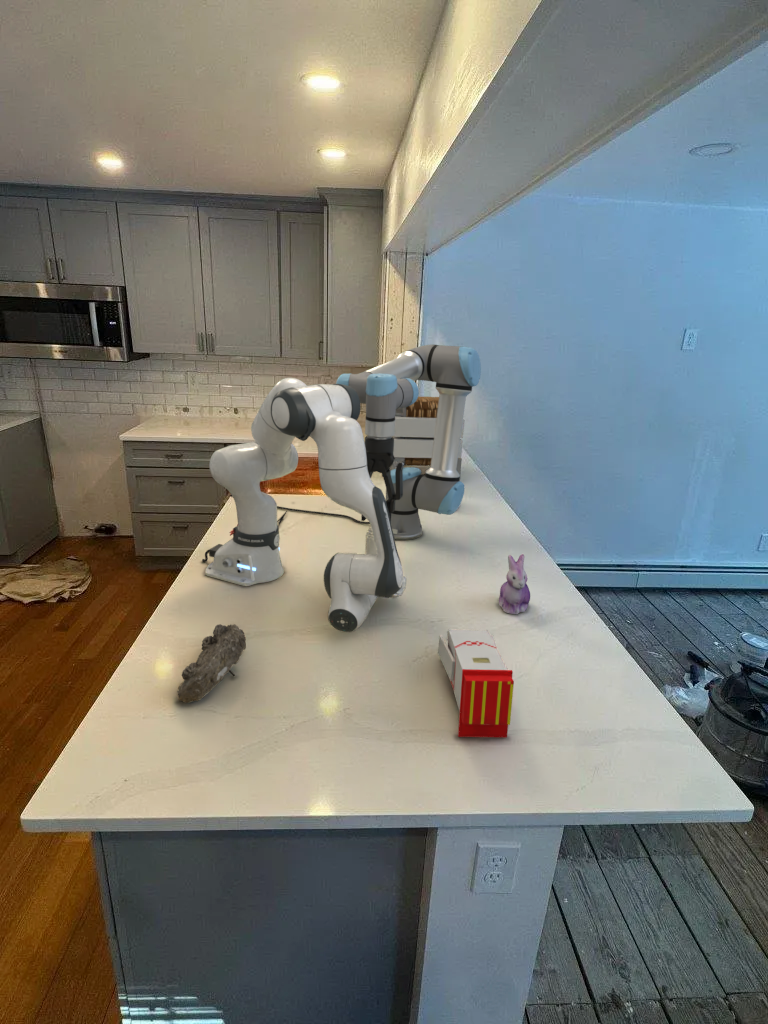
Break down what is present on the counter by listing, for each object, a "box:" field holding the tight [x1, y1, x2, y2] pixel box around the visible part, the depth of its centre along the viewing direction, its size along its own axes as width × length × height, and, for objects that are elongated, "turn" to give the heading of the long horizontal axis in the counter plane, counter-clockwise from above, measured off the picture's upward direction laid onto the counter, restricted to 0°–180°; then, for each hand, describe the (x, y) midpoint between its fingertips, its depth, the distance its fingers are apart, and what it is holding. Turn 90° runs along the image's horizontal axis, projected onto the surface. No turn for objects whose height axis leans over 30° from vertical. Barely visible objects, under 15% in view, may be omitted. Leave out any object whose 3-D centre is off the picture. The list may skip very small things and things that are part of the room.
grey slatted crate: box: [390, 396, 465, 481], centre depth 268 cm, size 34×33×41 cm
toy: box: [437, 628, 515, 738], centre depth 117 cm, size 12×13×30 cm
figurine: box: [498, 553, 531, 615], centre depth 151 cm, size 9×10×15 cm
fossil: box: [176, 623, 247, 704], centre depth 119 cm, size 22×10×15 cm
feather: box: [277, 510, 288, 528], centre depth 213 cm, size 2×28×2 cm
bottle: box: [364, 525, 377, 554], centre depth 156 cm, size 5×5×22 cm
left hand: (374, 568), depth 158 cm, fingers closed on bottle, 5 cm apart
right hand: (376, 520), depth 152 cm, fingers open, 6 cm apart
